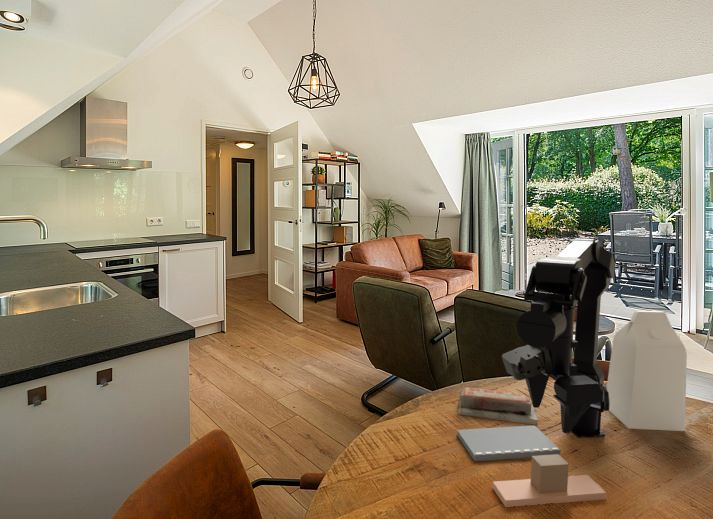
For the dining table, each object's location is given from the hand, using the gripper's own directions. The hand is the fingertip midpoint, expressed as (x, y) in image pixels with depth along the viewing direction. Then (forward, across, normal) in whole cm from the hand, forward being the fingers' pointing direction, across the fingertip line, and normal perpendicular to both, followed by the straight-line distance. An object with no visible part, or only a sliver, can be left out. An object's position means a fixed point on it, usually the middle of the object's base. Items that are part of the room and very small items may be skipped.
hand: (550, 419), depth 74 cm
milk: (+13, -22, +37) cm, 45 cm away
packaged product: (+14, -29, +4) cm, 33 cm away
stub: (+13, +2, -1) cm, 13 cm away
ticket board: (+13, -14, -1) cm, 19 cm away
